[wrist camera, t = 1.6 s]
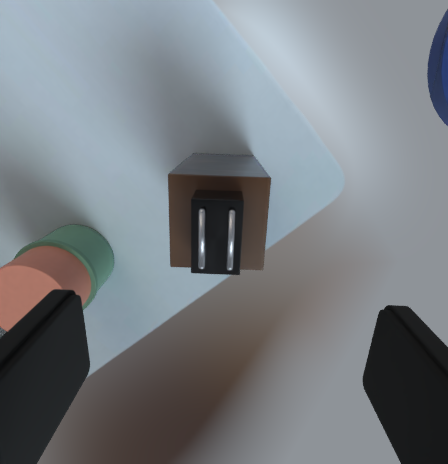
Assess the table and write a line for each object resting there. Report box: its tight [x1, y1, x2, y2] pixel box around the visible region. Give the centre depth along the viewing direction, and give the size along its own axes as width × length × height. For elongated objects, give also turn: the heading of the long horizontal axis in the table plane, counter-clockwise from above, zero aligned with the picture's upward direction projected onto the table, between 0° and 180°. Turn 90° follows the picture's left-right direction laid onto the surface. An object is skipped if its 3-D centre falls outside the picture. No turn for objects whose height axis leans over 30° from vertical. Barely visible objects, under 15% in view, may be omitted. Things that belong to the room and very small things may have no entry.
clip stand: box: [168, 153, 271, 270], centre depth 29 cm, size 7×7×15 cm
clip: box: [191, 190, 244, 275], centre depth 20 cm, size 3×5×3 cm, turn 178°
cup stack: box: [0, 225, 114, 332], centre depth 34 cm, size 9×9×11 cm
